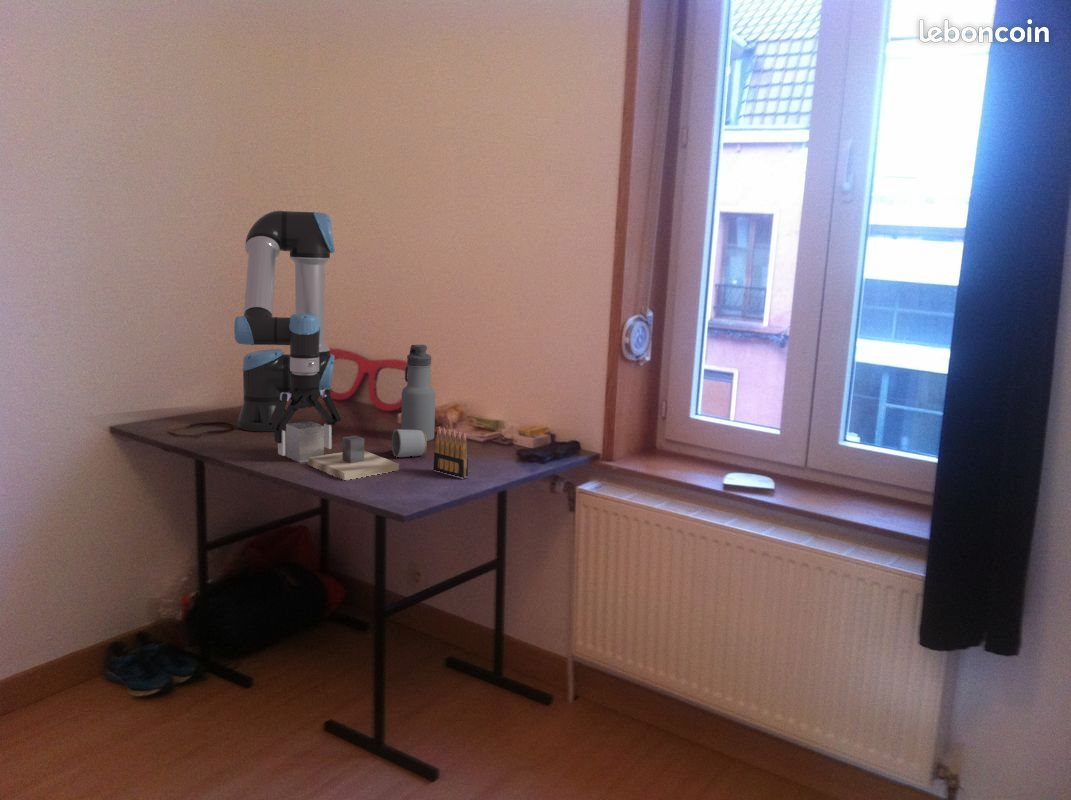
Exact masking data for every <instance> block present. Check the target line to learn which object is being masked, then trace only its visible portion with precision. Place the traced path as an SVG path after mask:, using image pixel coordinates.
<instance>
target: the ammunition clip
mask: <svg viewBox="0 0 1071 800" xmlns="http://www.w3.org/2000/svg"><path fill="white" fill-rule="evenodd" d="M436 431H437V432H436V439H435V451H434V452H433V467H432V468H433V469H432V470H436V471H440V472H443V473H447V474H451V475H455V476H459V477H463V478H464V477H466V476H468V477H469V459H468V458H467V457H468V456H467V454H468V447H467V436H466V433H465V432H463V433H462V435H461V432H460V430H458V431H457V433H456V430H455V429H453V430H452V432H451V429H450V428H448V429H447V431H446V428H445V427H443V428H442V430H441V427H440V426H437V430H436Z"/></svg>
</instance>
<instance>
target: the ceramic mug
mask: <svg viewBox="0 0 1071 800" xmlns="http://www.w3.org/2000/svg"><path fill="white" fill-rule="evenodd" d="M427 444H428V441H427V439H426V435H425V433H424V432H423V431H421V430H401V428H400V429H399V428H398V429H395V430H394V431H393V433H392V435H391V450H392V454H393V456H394V457H395V456H396V457H395V458H397V457H399V458H409V457H410V456H412V457H420V456H423V455H424V454H425V453H426V451H427V447H428V445H427Z"/></svg>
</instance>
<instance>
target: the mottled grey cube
mask: <svg viewBox="0 0 1071 800" xmlns="http://www.w3.org/2000/svg"><path fill="white" fill-rule="evenodd" d="M321 455H325V447H324V424H323V425H322V424H320V423H318V422H314V421H312V420H307V421H301V422H300V421H299V422H293V423H292V422H291V423H290V424H286V428H285V456H286V458H288V459H290V458H291V459H290V460H293V461H295V462H296V463H297V462H298V463H299V462H300V463H305V462H308V457H315V456H321Z"/></svg>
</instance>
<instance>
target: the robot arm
mask: <svg viewBox="0 0 1071 800" xmlns="http://www.w3.org/2000/svg"><path fill="white" fill-rule="evenodd" d="M244 249H245V252H246V254H247V268H246V281H245V295H244V306H243V307H244V309H243V315H241V316H236V317H235V319H234V331H233V332H234V340H235V342H236V343H237V344H239V345H247V346H249V345H250V346H254V345H255V346H256V345H259V346H262V345H263V346H267V345H268V346H289V349H290V350H289V354H286V353H285V352H284V350H283V349H280V348H272V349H271V348H269V349H262V350H257V351H256V350H255V351H252V352H249V353H247V354H245V355H244V357H243V360H242V369H241V370H242V374H243V381H242V384H243V385H242V386H243V389H242V391H243V403H242V406H241V409H240V412H239V415H238V418H237V428H238V429H241V430H244V431H249V432H274V441H275V443H276V444H277V454H278V455H279V456H283V457H284V456H286V424H290V420H291V418H292V417H293V415H294V414H295V413H296V412H297V411H299V409H306V408H311V409H312V408H314V410H316V411H317V412H318V414H319V415H320V416H321V417H322V418H323V420H325V422H326V423H323V426H324V449H325V448H326V449H329V450H331V449H332V448H333V447H332V444H333V443H332V439H333V438H332V437H333V436H334V434H335V426H336V425H337V423H338V422H341V420H342V419H341V416H340V413H339V412H338V410H337V408H336V406H335V403H334V400H332V396H331V386H332V381H333V380H332V379H333V374H334V373H333V372H334V365H335V354H332V353H331V349H330V347H328V346H327V344H326V340H325V339H326V335H325V334H326V332H325V330H326V328H325V326H326V325H325V322H326V321H325V317H326V314H325V313H326V312H325V311H326V310H325V308H326V307H325V305H326V304H325V303H326V301H325V299H326V298H325V297H326V295H325V292H326V289H325V285H326V283H325V278H326V276H325V275H326V273H325V270H326V269H325V268H326V267H325V265H326V264H327V263H328V261H329V260H330V259H331V258H330V257H331V254H335V244H334V233H333V229H332V220H331V216H330V215H329V214H327V213H323V212H315V211H293V210H292V211H290V210H289V211H287V210H285V211H284V210H273V211H270V212H268V213H266V214H263V215H262V216H261V217H260V218H259V219H258V220H256V221H255V222H254V224H253V225H252V226H251V228H250V229H249V230H248V233H247V235H246V239H245V248H244ZM281 251H282V252H289V258H290V259H291V260H292V262H294V277H295V278H294V280H295V282H294V286H295V287H294V288H295V290H294V291H295V294H294V296H295V298H294V299H295V301H294V302H295V307H294V308H295V309H294V311H295V312H294V313H293V314H291V315H290V316H289V317H282V316H281V317H280V316H279V317H278V316H273V313H274V298H275V297H274V295H275V281H276V280H275V278H276V259H277V257H279V255H280V252H281ZM284 353H285V354H284ZM320 397H322V400H323V402H324V403H325V406H326V408H327V410H328V412H327V410H326V409H325V408H324V406H322V403H321V402H320V401H319V398H320ZM289 400H291V401H290V402H289ZM288 402H289V404H287V403H288ZM286 405H287V406H286ZM286 407H287V408H286Z"/></svg>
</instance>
